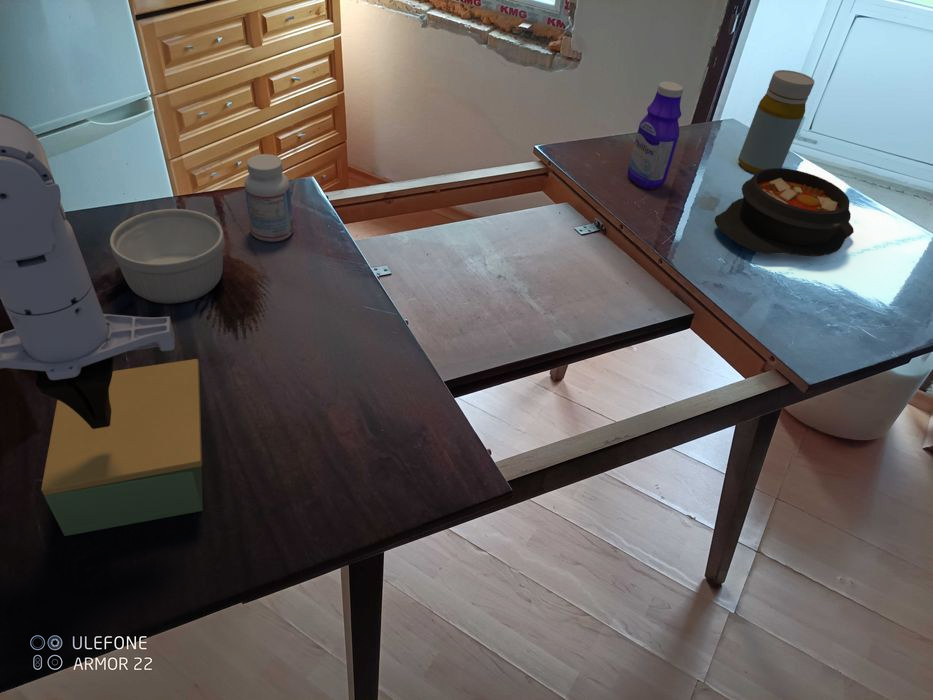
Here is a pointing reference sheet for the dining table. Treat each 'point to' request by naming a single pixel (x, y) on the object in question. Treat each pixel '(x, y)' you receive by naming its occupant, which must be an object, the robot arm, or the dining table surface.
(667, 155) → the bottle
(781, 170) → the casserole
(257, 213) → the pill bottle
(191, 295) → the ramekin
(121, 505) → the green open cubby
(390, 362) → the dining table surface
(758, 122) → the bottle
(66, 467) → the yellow box lid
